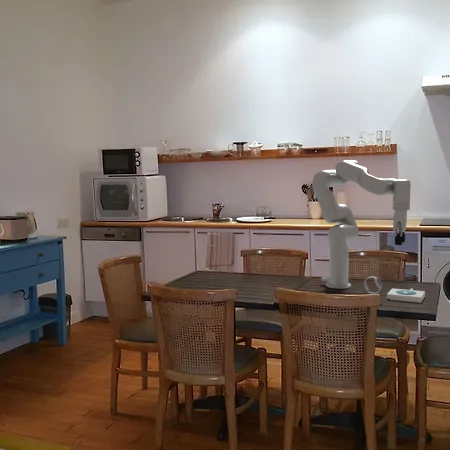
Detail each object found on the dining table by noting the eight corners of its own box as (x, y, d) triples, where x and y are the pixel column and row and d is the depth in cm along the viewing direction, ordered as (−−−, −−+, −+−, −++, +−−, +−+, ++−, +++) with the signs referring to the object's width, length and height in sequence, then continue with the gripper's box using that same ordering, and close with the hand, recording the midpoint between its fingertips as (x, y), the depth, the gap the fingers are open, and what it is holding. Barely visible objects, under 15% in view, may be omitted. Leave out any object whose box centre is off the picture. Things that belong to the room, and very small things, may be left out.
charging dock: (386, 299, 267) (387, 293, 267) (396, 288, 288) (396, 283, 288) (420, 302, 260) (421, 296, 260) (427, 291, 282) (428, 286, 281)
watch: (380, 302, 261) (380, 278, 260) (362, 300, 265) (363, 277, 264) (382, 299, 266) (383, 276, 265) (365, 298, 270) (366, 274, 269)
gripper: (395, 204, 274) (394, 240, 276) (389, 207, 258) (388, 245, 260) (411, 205, 271) (410, 241, 273) (407, 208, 255) (406, 246, 257)
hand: (399, 243), depth 267 cm, fingers open, 9 cm apart
